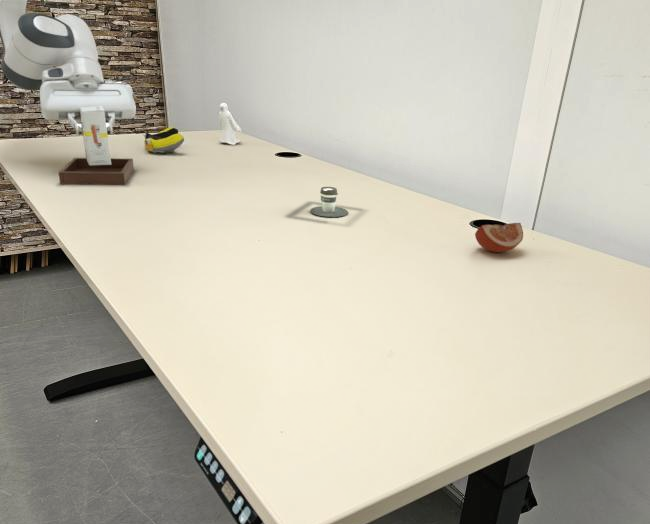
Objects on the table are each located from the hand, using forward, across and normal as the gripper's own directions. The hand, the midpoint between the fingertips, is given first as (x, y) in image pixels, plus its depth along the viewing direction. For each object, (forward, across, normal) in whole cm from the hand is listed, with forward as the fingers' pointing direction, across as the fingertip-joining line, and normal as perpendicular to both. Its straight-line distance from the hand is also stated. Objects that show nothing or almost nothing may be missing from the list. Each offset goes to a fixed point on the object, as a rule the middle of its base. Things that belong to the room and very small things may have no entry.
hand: (94, 132), depth 132 cm
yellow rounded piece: (-13, -21, -27) cm, 37 cm away
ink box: (+4, 0, -5) cm, 7 cm away
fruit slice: (+58, -56, +44) cm, 92 cm away
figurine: (-18, -43, -33) cm, 57 cm away
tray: (+7, 0, -7) cm, 10 cm away
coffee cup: (+36, -38, +22) cm, 57 cm away
